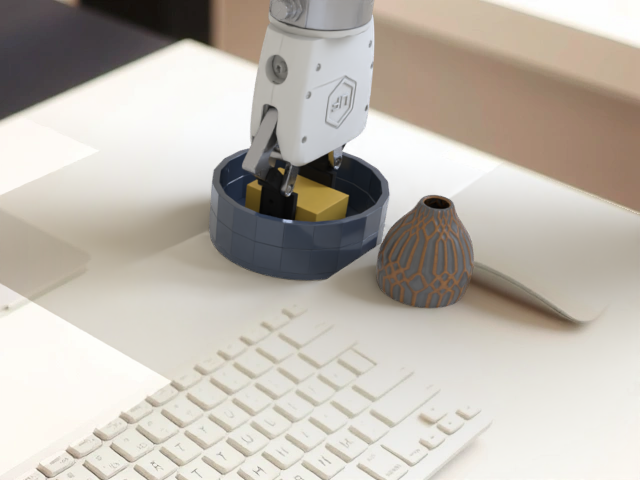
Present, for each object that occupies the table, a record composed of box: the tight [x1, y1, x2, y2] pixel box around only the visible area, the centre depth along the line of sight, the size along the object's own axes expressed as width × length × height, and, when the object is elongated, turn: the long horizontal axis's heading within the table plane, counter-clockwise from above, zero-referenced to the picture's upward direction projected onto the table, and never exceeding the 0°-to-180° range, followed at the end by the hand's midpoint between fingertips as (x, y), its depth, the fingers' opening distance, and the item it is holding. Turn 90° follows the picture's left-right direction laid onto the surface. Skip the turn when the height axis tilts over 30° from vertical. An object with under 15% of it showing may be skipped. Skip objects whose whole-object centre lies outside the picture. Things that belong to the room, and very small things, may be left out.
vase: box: [375, 194, 475, 309], centre depth 80 cm, size 7×7×9 cm
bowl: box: [208, 145, 391, 281], centre depth 89 cm, size 14×14×5 cm
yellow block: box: [245, 168, 349, 222], centre depth 89 cm, size 4×7×3 cm, turn 47°
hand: (294, 218), depth 90 cm, fingers closed on yellow block, 4 cm apart
